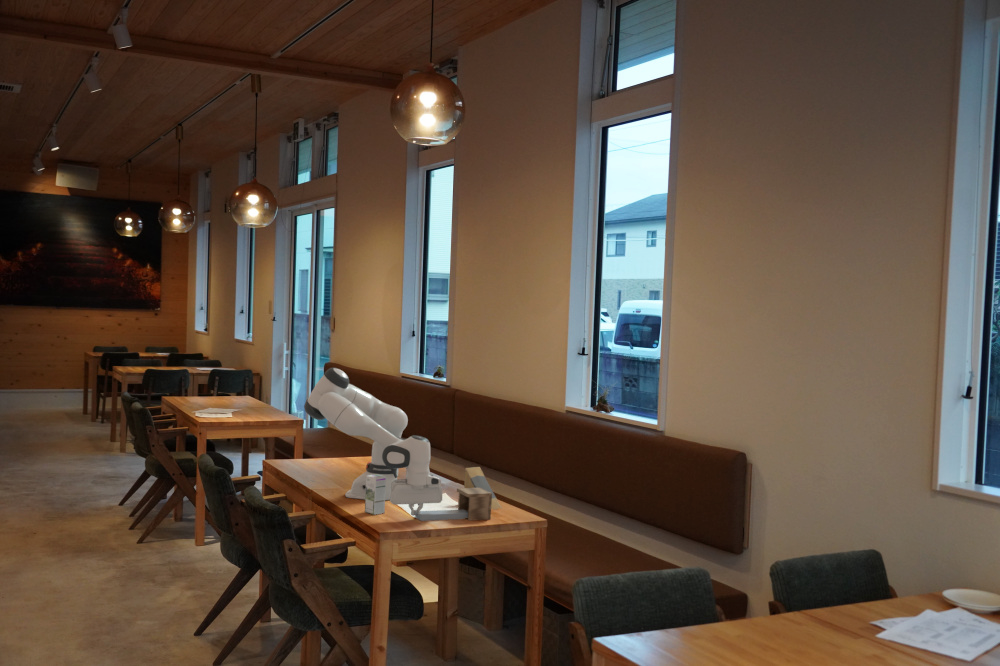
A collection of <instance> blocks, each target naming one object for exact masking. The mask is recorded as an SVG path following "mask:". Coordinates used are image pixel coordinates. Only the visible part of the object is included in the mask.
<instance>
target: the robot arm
mask: <svg viewBox="0 0 1000 666" xmlns="http://www.w3.org/2000/svg"><path fill="white" fill-rule="evenodd" d="M304 402H305V403H304V406H303V407H304V411H305V413H306V414H307V415H308V416H309V417H311V418H312V419H315V420H317V421H321V420H325V419H326V420H327V421H328V422H329V423H330V424H332V426H334V427H335V428H337V429H338V430H339V431H341V432H343V433H345V434H346V435H348V436H356V437H357V436H360V437H365V438H368V439H371V440H372V441H373V443H372V447H371V461H369V462H367V464H366V467H365V472H363V473H362V474H360V475H359V476H358V477H357V478H355V479H354V480H353V482H352V485H351V489H349V490H347V491H346V492H345V497H346V498H351V499H359V500H365V496H366V476H368V475H373V474H377V475H381V476H385V477H386V492H385V501H389V502H390V503H391V504H392V505H397V506H398V505H408V508H409V509H410V515H411V516H414V517H415V515H420V511H422V509H423V506H424V504H440V503H441V502H442V501H443V487H442V485H441V483H442V479H440V478H439V477H437V476H435V475H433V474H430V462H431V443H430V440H429V439H428V438H426V437H424V436H421V435H415V434H413V435H411V436H409V437H408V438H402V434H403V431H404V430H405V429H406V427H407V426H408V421H409V419H408V415H407V414H406V412H405V411H403V410H402V409H401V408H400V407H397V406H393V405H392V404H391V405H390V404H388V403H386V402H383V401H381V399H380V400H379V399H378V398H376V397H375V396H374V395H372V394H371V393H369V392H367V391H364V390H362V389H361V388H359V387H357V386H355V385H354V384H352V383H350V379H349V376H348V375H347V373H345V372H344V371H343V370H341V369H340V368H337V367H329V368H328V369H327V370H326V371H325V372H324V374H323V375H322V376H321V377H320V379H319V380H318V381H317V383H316V384H315V385H314V388H313V389H312V391H311V392H310V394H309V397H308V398H307V399H306V401H304ZM399 469H406V471H405V472H406V473H405V478H402V479H398V477H399ZM415 505H417V506H418V507H417V508H416V509H414V507H415Z"/></svg>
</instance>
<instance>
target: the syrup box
mask: <svg viewBox="0 0 1000 666" xmlns="http://www.w3.org/2000/svg"><path fill="white" fill-rule="evenodd" d="M385 492H386V477H385V476H381V475H377V474H373V475H368V476H366V496H365V499H364V501H365V502H364V513H367V514H369V513H370V514H369V515H374V516H376V514H377V515H383V514H385V510H386V509H385V508H386V500H385ZM382 513H383V514H382Z"/></svg>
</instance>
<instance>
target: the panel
mask: <svg viewBox="0 0 1000 666" xmlns="http://www.w3.org/2000/svg"><path fill="white" fill-rule="evenodd" d="M414 517H415V519H417V520H418V521H420V522H423V521H424V522H425V521H426V522H427V521H448V519H449V521H450V519H451V520H466V519H465V518H468V512H467V511H465V510H464V509H462V510H458V509H445V510H444V509H441V510H420V515H414Z"/></svg>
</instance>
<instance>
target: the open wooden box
mask: <svg viewBox="0 0 1000 666" xmlns="http://www.w3.org/2000/svg"><path fill="white" fill-rule="evenodd" d="M456 492H457V493H458V498H457V499H458V503H457V510H462V509H464V510H465V511H467V512H468V519H467V520H468V521H484V520H486V521H487V520H491V518H492V517H491V516H492V510H491V503H492V493H490V492H488V491H486V490H484V489H482V488H464V487H462V488H459V487H457V488H456Z"/></svg>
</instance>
